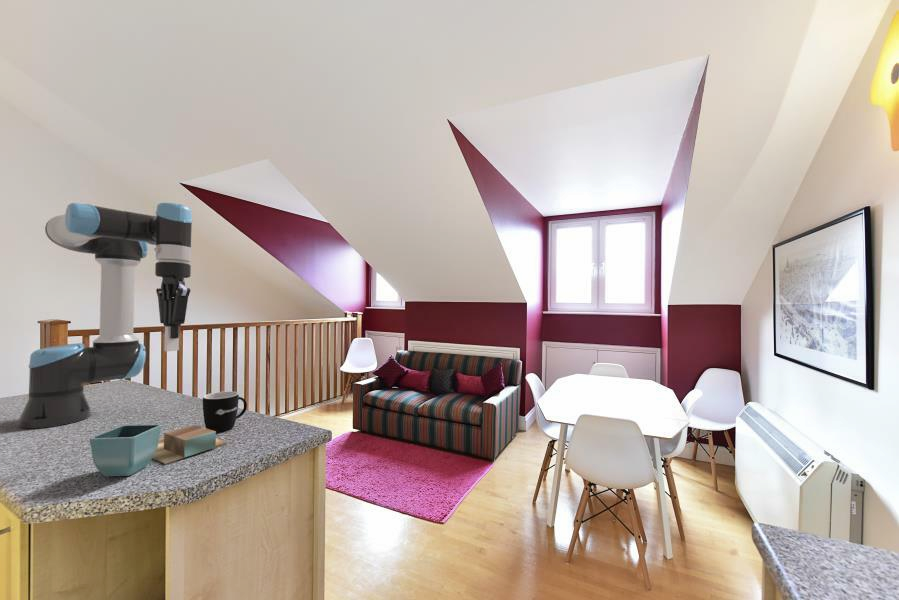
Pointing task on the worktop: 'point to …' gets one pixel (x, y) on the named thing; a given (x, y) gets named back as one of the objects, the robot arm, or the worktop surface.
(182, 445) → the block
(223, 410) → the mug
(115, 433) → the flower pot
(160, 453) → the mat
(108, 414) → the worktop surface
